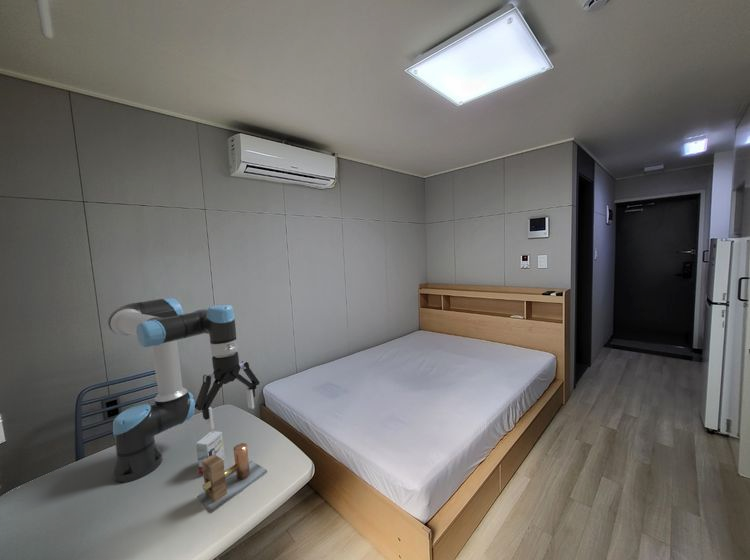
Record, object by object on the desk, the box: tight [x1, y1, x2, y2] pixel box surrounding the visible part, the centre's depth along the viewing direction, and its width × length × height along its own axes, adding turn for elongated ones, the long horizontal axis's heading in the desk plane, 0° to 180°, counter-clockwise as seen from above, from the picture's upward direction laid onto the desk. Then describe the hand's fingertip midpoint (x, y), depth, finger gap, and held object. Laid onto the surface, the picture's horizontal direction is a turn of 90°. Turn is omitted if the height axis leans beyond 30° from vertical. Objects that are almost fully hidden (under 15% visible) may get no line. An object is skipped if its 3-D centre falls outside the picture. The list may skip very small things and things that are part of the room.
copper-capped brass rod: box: [202, 442, 250, 492], centre depth 103 cm, size 4×15×11 cm, turn 145°
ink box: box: [195, 430, 226, 474], centre depth 116 cm, size 9×5×12 cm, turn 168°
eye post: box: [196, 454, 268, 513], centre depth 105 cm, size 10×20×13 cm, turn 145°
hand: (232, 417), depth 97 cm, fingers open, 13 cm apart
